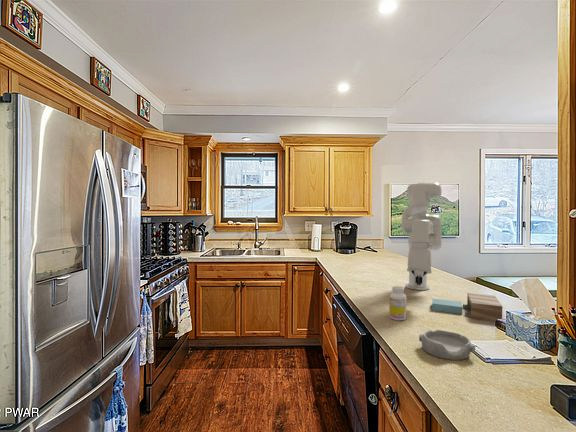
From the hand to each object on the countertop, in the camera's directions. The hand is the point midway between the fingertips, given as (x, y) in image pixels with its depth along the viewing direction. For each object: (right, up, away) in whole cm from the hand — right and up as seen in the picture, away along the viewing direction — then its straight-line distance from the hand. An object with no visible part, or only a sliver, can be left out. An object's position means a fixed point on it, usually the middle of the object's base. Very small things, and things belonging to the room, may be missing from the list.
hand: (418, 284), depth 152 cm
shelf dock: (+24, -11, -10) cm, 28 cm away
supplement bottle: (-16, -10, -17) cm, 26 cm away
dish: (-11, -12, -48) cm, 50 cm away
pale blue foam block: (+11, -10, -4) cm, 16 cm away
